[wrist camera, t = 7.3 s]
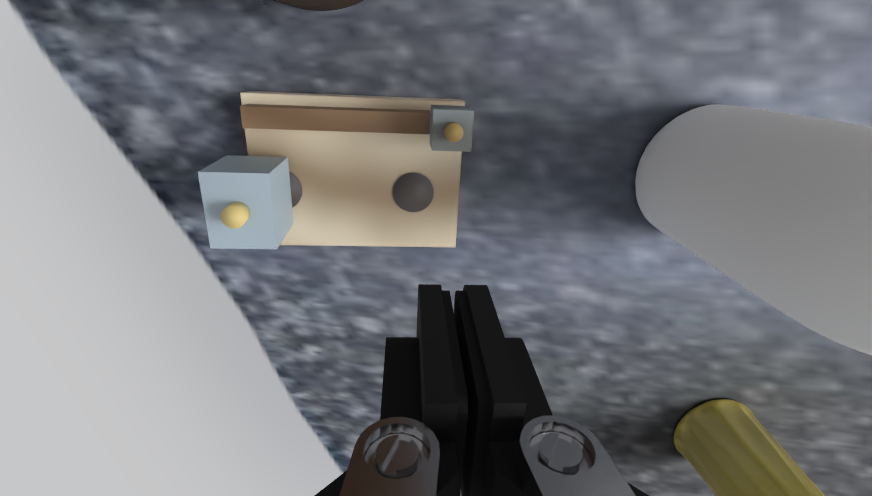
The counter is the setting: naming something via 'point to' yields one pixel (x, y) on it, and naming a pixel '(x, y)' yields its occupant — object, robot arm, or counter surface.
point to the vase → (738, 453)
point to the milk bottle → (771, 209)
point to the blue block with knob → (247, 201)
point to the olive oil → (315, 4)
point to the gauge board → (364, 164)
